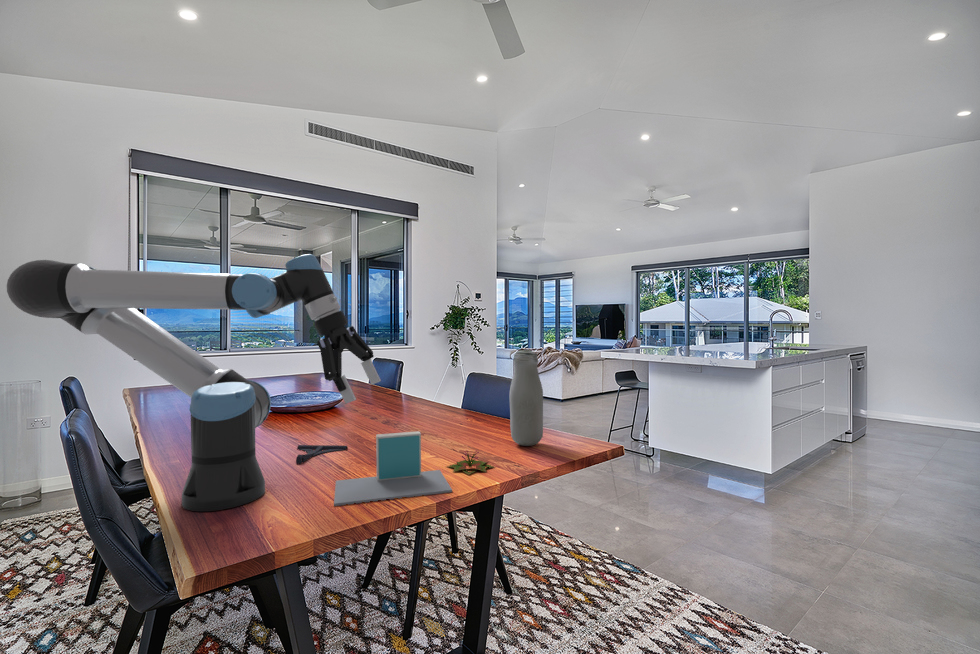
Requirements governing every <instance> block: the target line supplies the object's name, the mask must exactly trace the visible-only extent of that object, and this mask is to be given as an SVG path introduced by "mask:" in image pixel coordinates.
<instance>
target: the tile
mask: <svg viewBox="0 0 980 654" xmlns="http://www.w3.org/2000/svg"><path fill="white" fill-rule="evenodd" d="M375 436H376V437H375V441H376V443H375V444H376V445H375V448H376V449H375V450H376V453H375V455H376V456H375V457H376V458H375V459H376V476H377V481H381V480H390V479H400V478H409V477H419V476H421V472H422V439H421V438H422V433H421V432H420V431H405V432H403V431H402V432H395V433H394V432H393V433H379V434H378V433H377V434H376V435H375Z"/></svg>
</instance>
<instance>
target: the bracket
mask: <svg viewBox="0 0 980 654" xmlns="http://www.w3.org/2000/svg"><path fill="white" fill-rule="evenodd" d="M348 448H349V446H348V445H339V444H338V445H337V444H336V445H334V444H333V445H332V444H331V445H329V444H328V445H325V444H324V445H323V444H322V445H321V444H320V445H319V444H299V445H297V448H296V450H298V449H299V450H298V451H301V450H304V451H303V452H305V451H306V452H305V453H306V454H297V456H296V460H295V463H296V464H297V465H302V464H303V463H305V462H306V461H308V460H310V459H311V458H313V457H315V456H319V455H323V454H327V452H328V453H333V452H334V451H335V452H341V451H346V450H348ZM313 449H315V450H313ZM322 450H323V451H322ZM335 452H334V453H335ZM322 453H323V454H322ZM312 456H313V457H312ZM310 457H311V458H310ZM309 458H310V459H309ZM307 459H308V460H307ZM304 461H305V462H304ZM302 462H303V463H302ZM301 463H302V464H301Z"/></svg>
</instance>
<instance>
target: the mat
mask: <svg viewBox="0 0 980 654" xmlns="http://www.w3.org/2000/svg"><path fill="white" fill-rule="evenodd" d="M334 487H335V489H334V498H333V506H334V507H337V506H338V507H339V506H346V504H348V505H353V504H354V503H356V504H362V502H365V503H371V502H370V501H373V502H379V501H378V500H381V501H387V500H386V499H390V500H395V499H394V498H398V499H403V498H402V497H407V498H414V496H415V497H423V496H422V495H424V496H430V495H439V494H448V493H452V492H453V489H452V487H451V485H450V484H449V483H448V481H447V479H446V477H445V476H444V474H443V472H442V471H441V469H435V470H426V471H425V470H424V471H421V476H419V477H409V478H400V479H390V480H381V481H377V475H376V476H369V477H368V476H367V477H359V478H349V479H337V480H335V486H334ZM354 505H355V504H354Z"/></svg>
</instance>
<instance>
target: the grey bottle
mask: <svg viewBox="0 0 980 654" xmlns="http://www.w3.org/2000/svg"><path fill="white" fill-rule="evenodd" d="M512 361H513V375H512V378H511V382H510V385H509V387H510V388H509V396H508V397H509V398H508V400H509V418H510V419H509V420H510V422H509V425H510V427H509V428H510V436H511V439H512V440H513V442H514V443H515V444H517V445H519V446H523V447H524V446H525V447H532V446H535V445H538V444H539V442H541V440H542V438H543V437H544V390H543V384H542V381H541V378H540V374H539V369H538V364H539V360H538V353H536V352H535V351H532V350H530V349H529V350H526V349H525V350H524V349H523V350H518V351H516V352H515V353H514V354H513V360H512Z"/></svg>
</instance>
